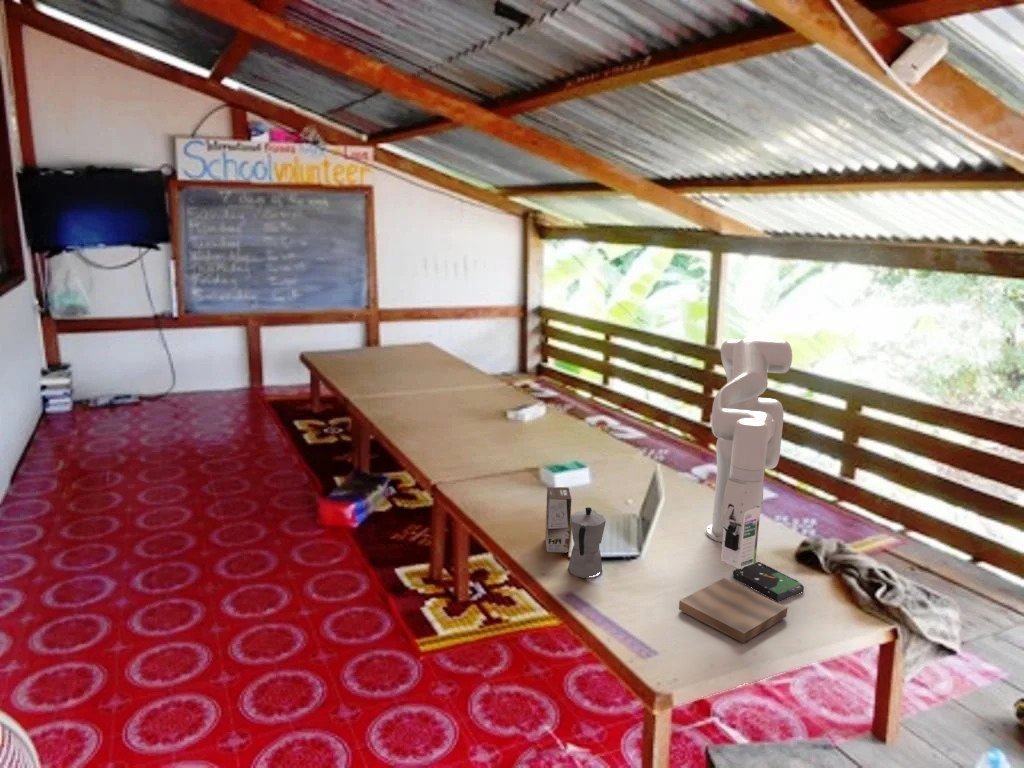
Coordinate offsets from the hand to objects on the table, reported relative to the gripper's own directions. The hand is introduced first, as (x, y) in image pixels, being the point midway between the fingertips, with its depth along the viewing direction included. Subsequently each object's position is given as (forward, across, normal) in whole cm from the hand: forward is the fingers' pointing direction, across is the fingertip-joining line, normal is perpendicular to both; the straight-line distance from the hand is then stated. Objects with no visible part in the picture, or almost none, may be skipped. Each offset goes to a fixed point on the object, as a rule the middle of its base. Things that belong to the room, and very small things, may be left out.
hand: (739, 544), depth 181 cm
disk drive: (+19, -20, -3) cm, 28 cm away
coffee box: (+19, +8, -53) cm, 57 cm away
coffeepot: (+19, +13, -37) cm, 44 cm away
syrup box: (+5, 0, 0) cm, 5 cm away
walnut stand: (+19, 0, 0) cm, 19 cm away
